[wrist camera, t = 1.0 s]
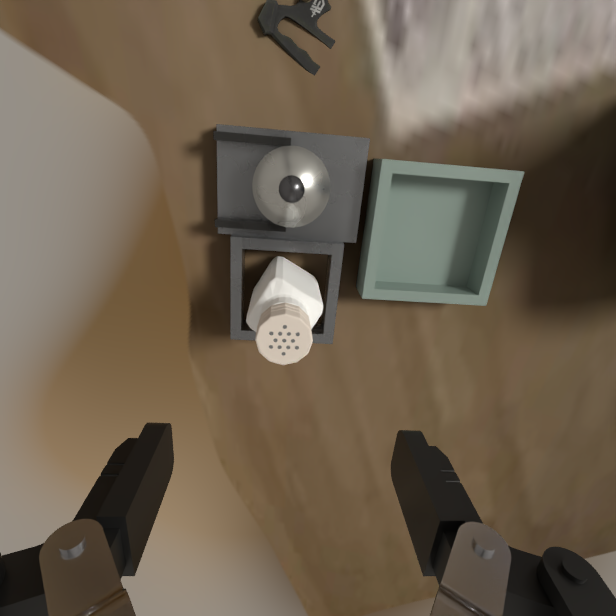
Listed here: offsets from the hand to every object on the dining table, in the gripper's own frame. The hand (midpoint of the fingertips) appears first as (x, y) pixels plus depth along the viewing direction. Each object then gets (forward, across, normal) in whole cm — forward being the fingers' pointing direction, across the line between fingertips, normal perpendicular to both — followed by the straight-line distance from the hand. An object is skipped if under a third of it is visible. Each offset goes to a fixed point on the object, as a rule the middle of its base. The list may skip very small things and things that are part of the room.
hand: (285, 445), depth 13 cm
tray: (+18, -10, -5) cm, 21 cm away
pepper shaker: (+18, 0, 0) cm, 18 cm away
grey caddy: (+17, 0, -4) cm, 18 cm away
